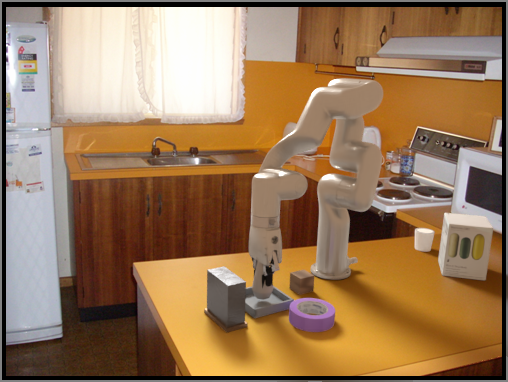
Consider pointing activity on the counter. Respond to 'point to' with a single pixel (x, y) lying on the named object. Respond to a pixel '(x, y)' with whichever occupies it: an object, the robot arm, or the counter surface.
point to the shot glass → (423, 239)
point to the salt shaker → (260, 283)
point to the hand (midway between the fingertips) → (262, 284)
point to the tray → (266, 303)
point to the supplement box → (465, 246)
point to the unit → (226, 299)
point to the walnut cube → (301, 282)
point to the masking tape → (311, 322)
